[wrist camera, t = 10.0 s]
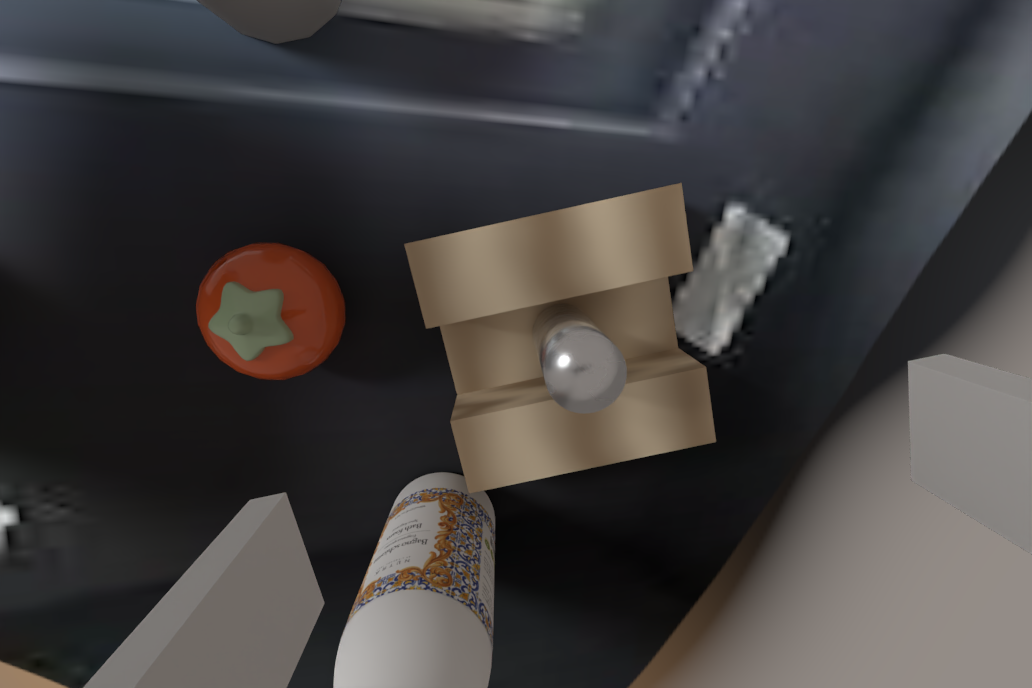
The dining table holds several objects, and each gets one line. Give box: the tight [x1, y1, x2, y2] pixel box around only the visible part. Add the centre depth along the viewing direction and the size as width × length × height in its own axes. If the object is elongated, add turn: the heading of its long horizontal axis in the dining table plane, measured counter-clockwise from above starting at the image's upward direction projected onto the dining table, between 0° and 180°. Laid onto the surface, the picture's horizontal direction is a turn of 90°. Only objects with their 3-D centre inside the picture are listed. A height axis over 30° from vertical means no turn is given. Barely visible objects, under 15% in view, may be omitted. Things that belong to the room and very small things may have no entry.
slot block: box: [404, 183, 716, 494], centre depth 29 cm, size 14×14×5 cm
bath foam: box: [334, 472, 495, 688], centre depth 25 cm, size 7×7×20 cm
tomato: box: [196, 242, 346, 380], centre depth 27 cm, size 7×7×8 cm
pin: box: [532, 304, 627, 414], centre depth 27 cm, size 4×4×9 cm
